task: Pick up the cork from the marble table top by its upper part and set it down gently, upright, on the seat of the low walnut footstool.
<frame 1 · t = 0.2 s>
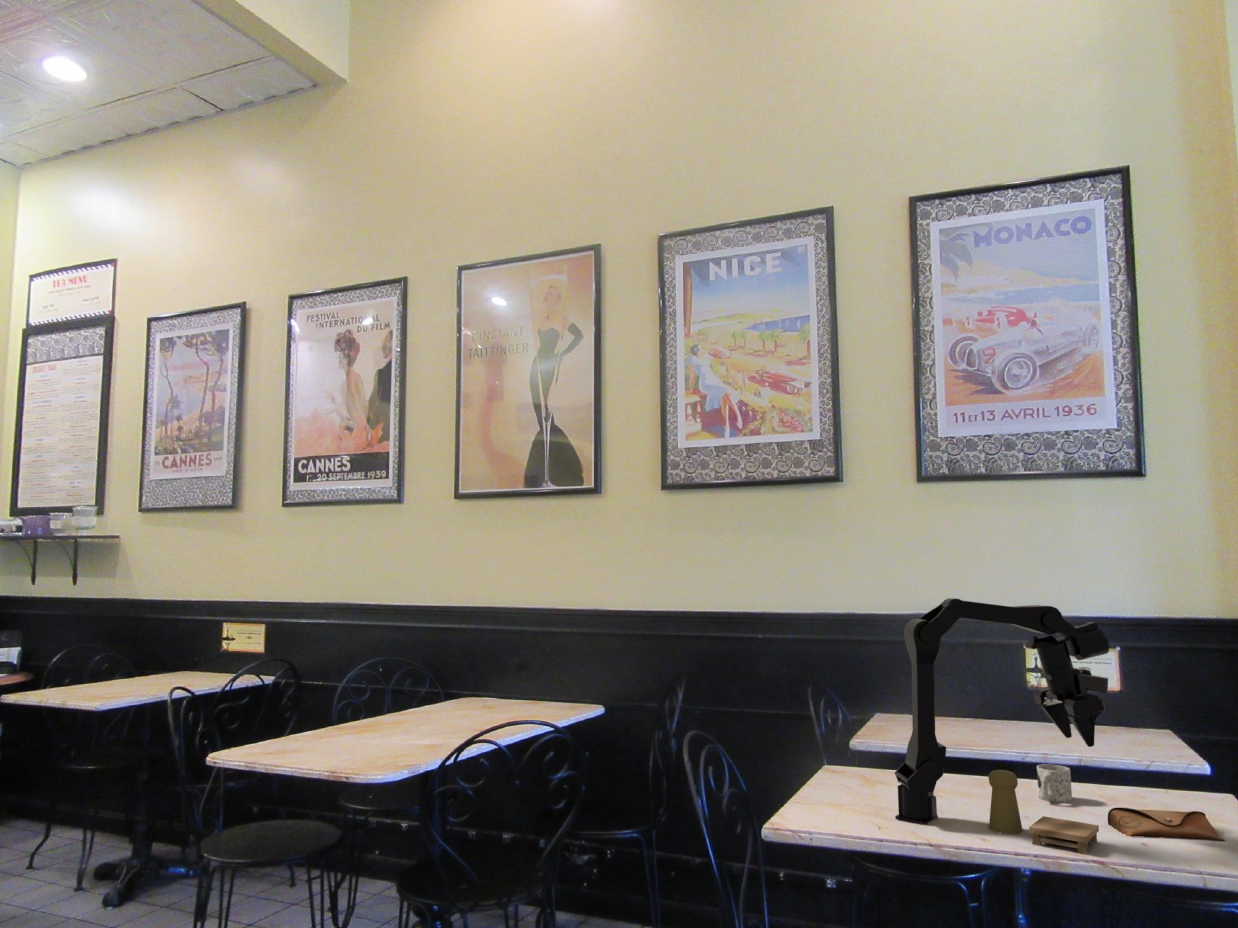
hand: (1079, 741, 177), 15 cm above the table, tool pointing down, fingers open, 9 cm apart
footstool: (1065, 842, 160), on the table
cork: (1005, 830, 168), on the table
mug: (1052, 800, 190), on the table
sunglasses case: (1166, 836, 166), on the table
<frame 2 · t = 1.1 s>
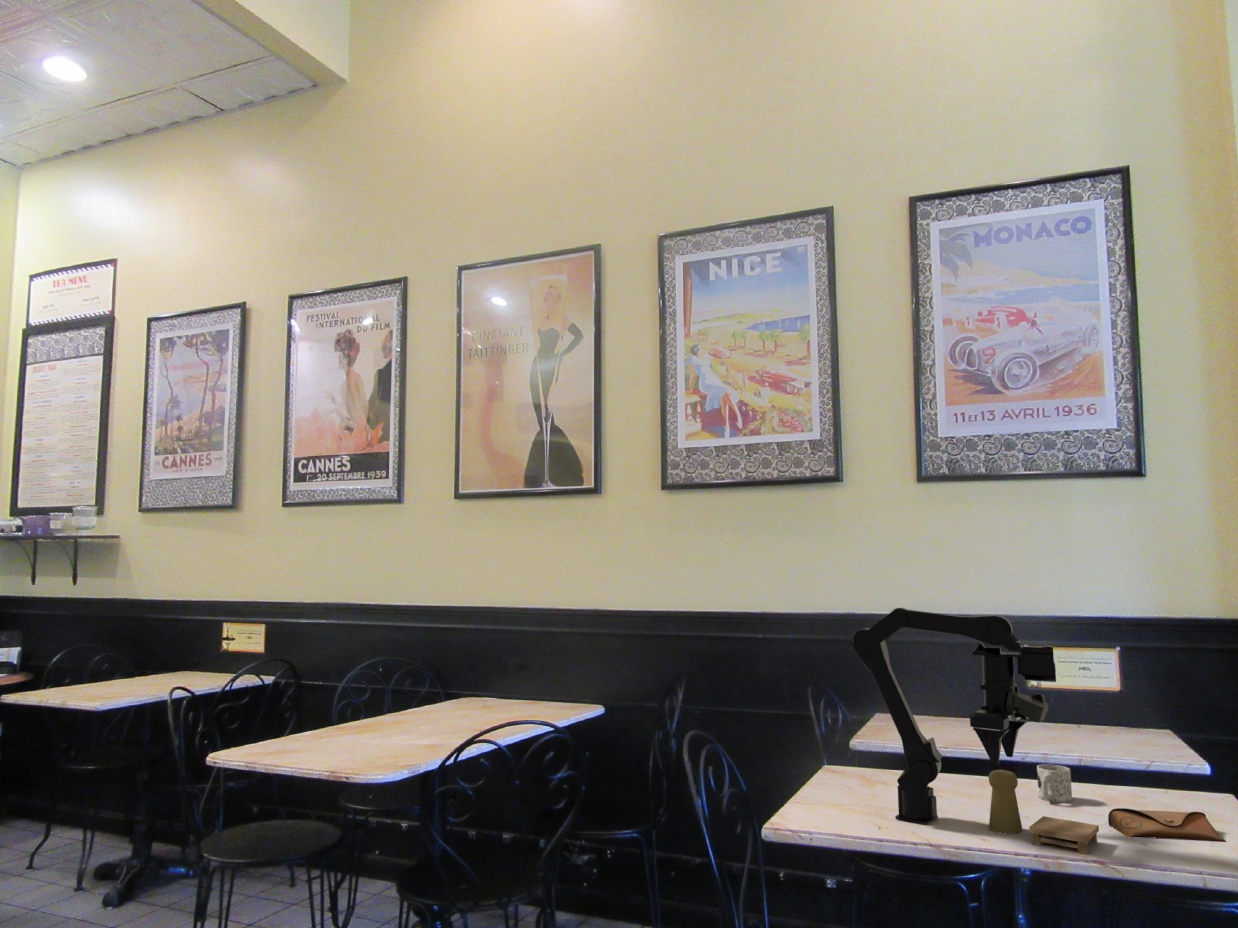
hand: (1002, 760, 170), 13 cm above the table, tool pointing down, fingers open, 9 cm apart
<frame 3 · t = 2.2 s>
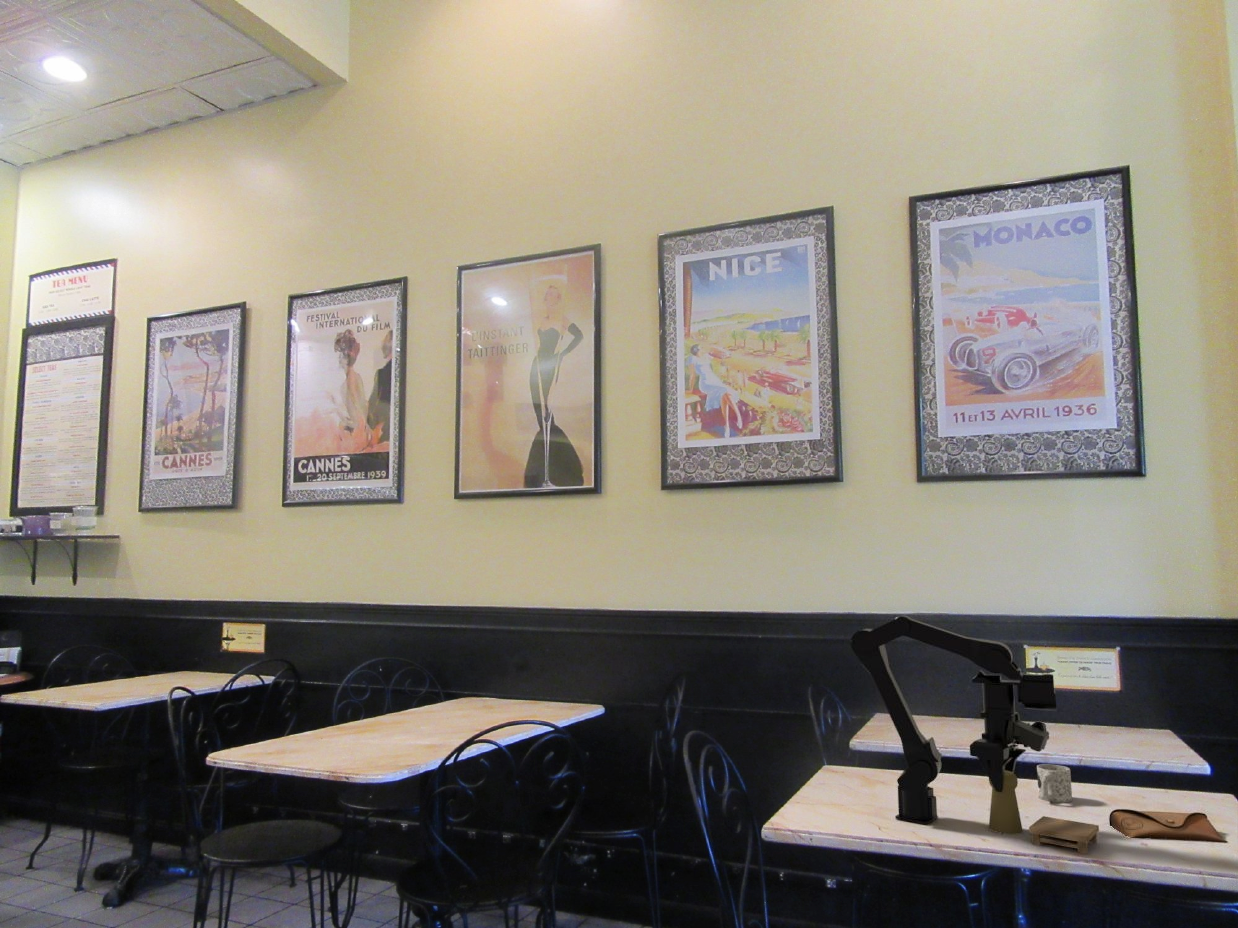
hand: (1003, 789, 169), 8 cm above the table, tool pointing down, fingers closed on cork, 5 cm apart
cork: (1005, 830, 168), on the table, touching gripper
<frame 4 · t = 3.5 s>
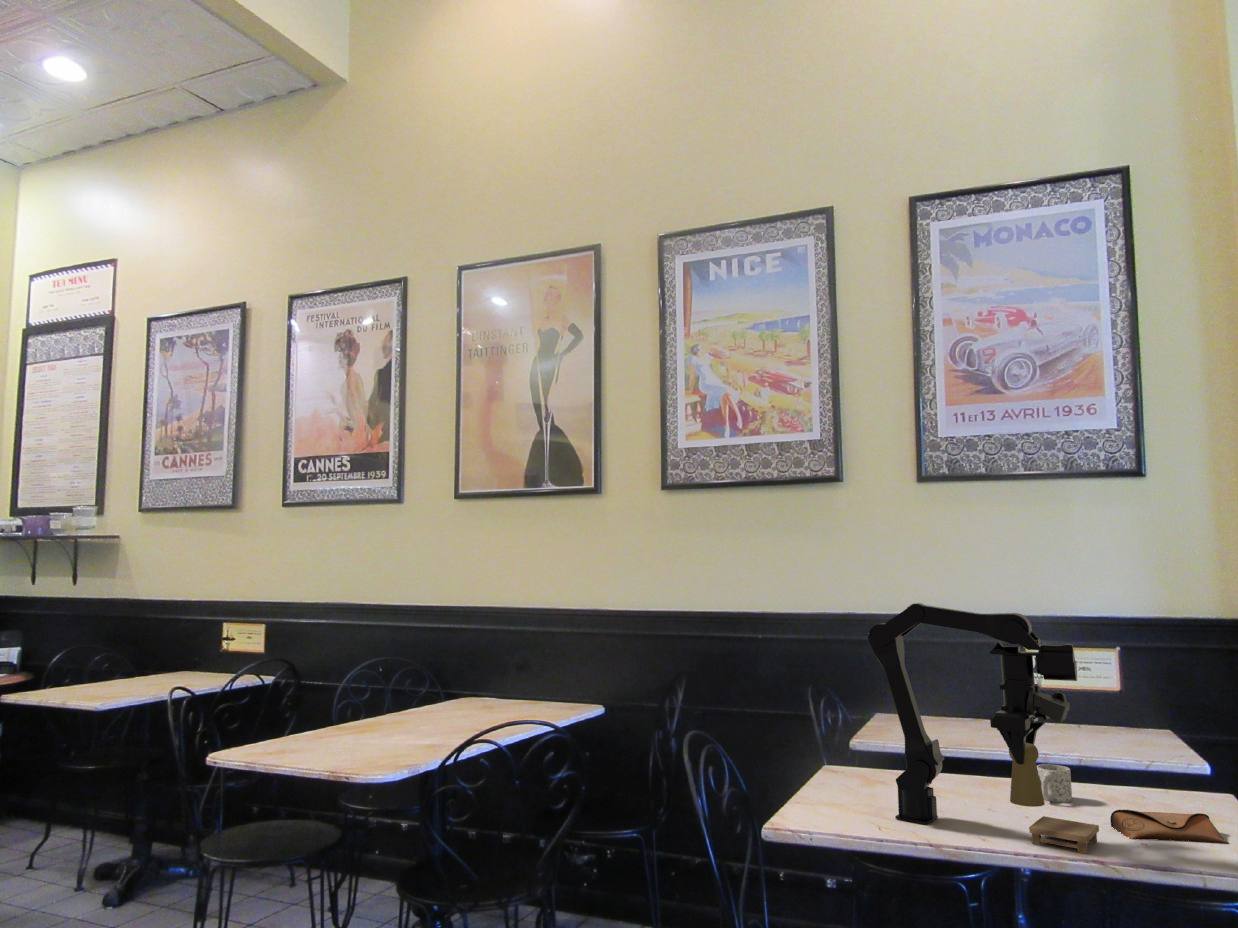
hand: (1024, 761, 167), 13 cm above the table, tool pointing down, fingers closed on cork, 5 cm apart
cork: (1027, 803, 166), point 6 cm above the table, touching gripper
when the fingers open (11 cm above the table, at t = 4.6 s): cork stays where it is, resting on footstool.
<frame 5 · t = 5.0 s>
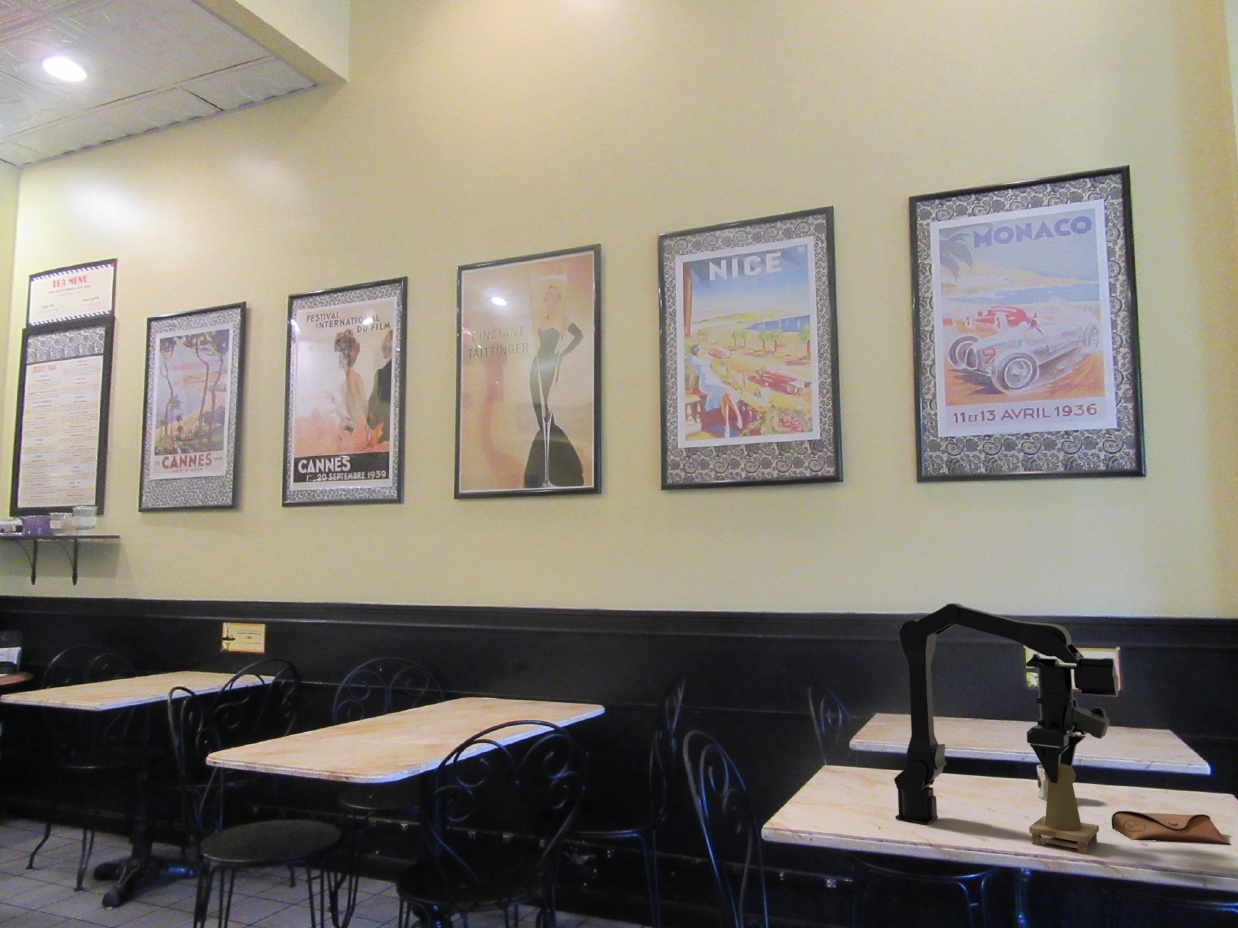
hand: (1060, 778, 161), 11 cm above the table, tool pointing down, fingers open, 9 cm apart
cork: (1063, 826, 160), point 3 cm above the table, touching footstool
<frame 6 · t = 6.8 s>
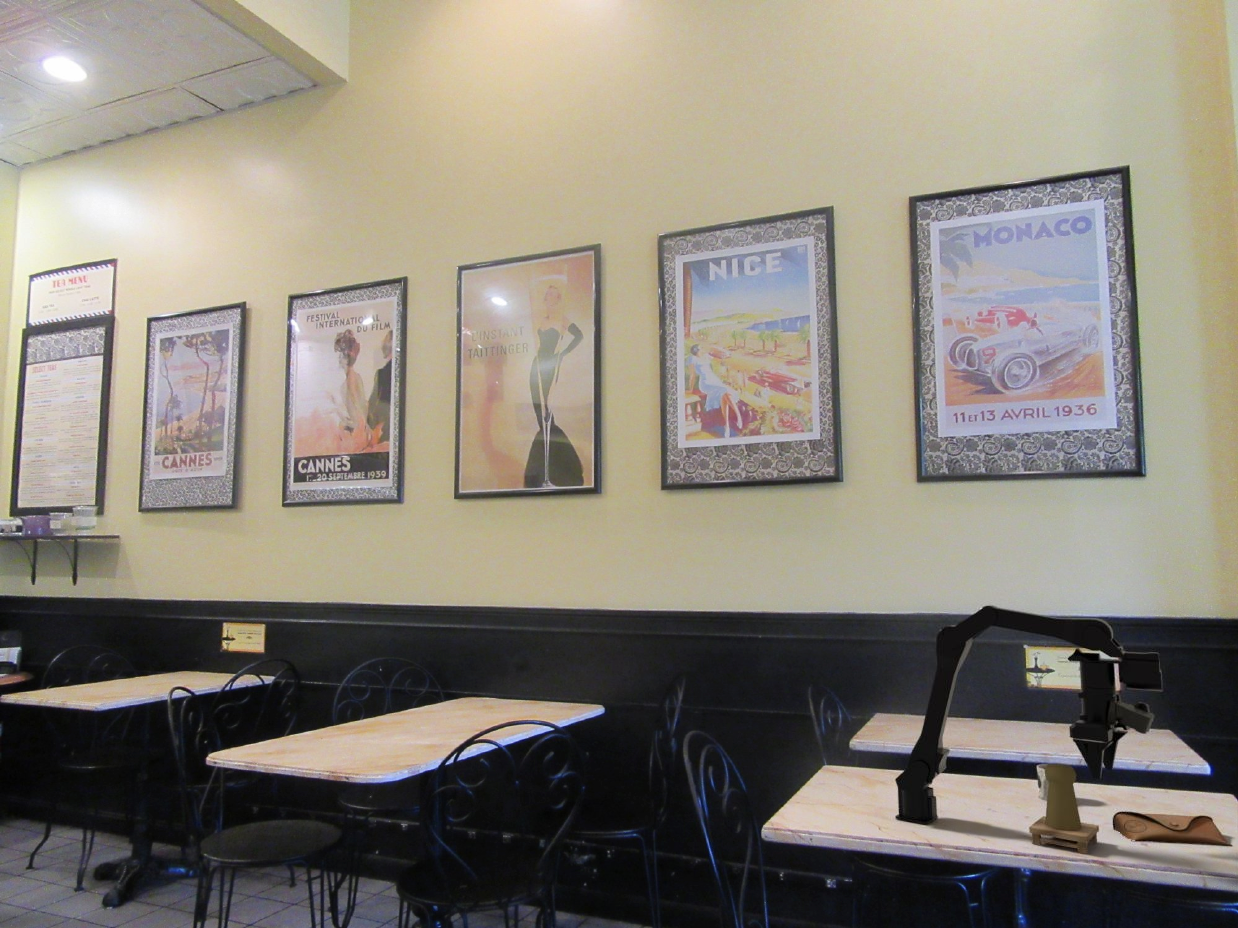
hand: (1103, 773, 159), 13 cm above the table, tool pointing down, fingers open, 9 cm apart
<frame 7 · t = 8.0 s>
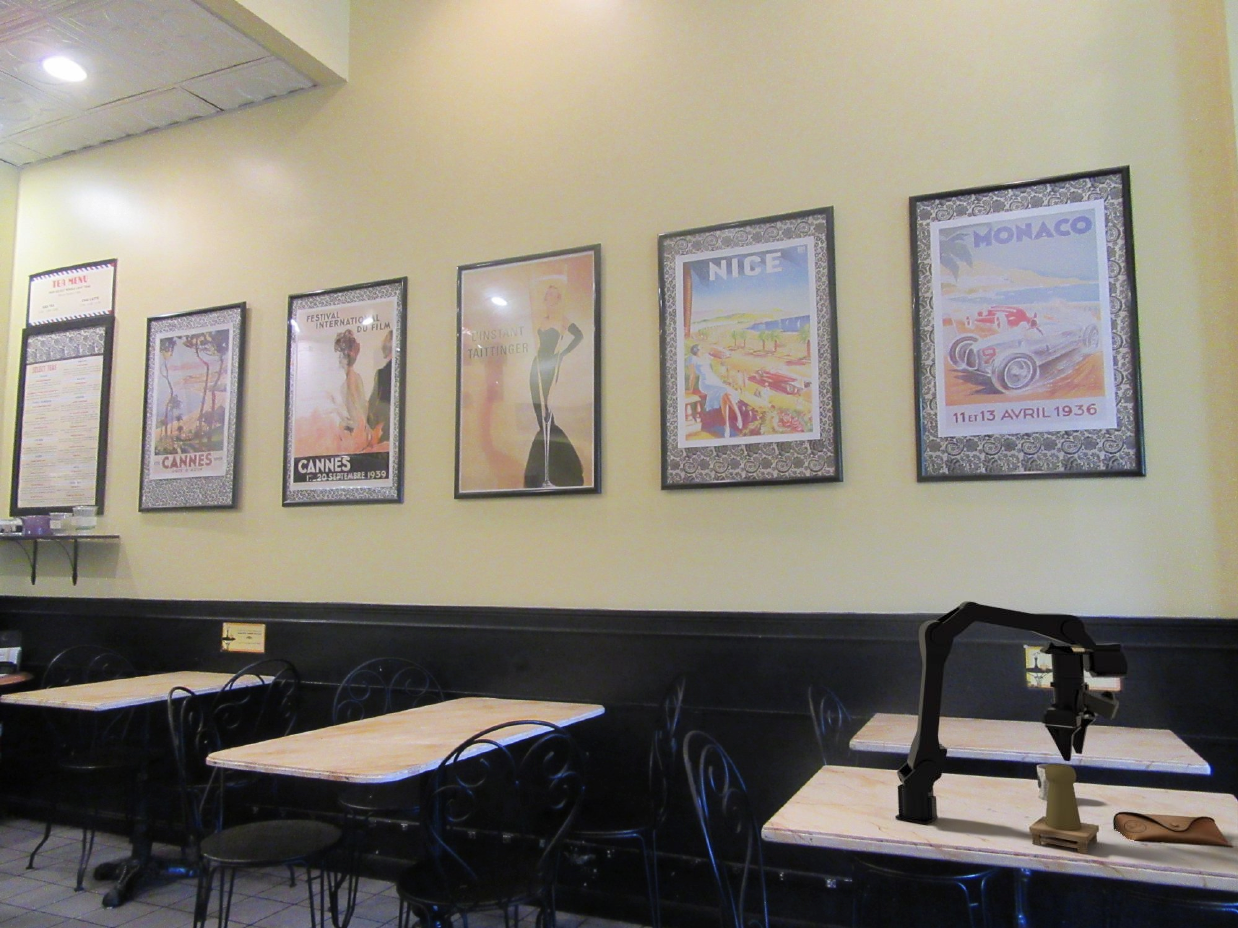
hand: (1073, 757, 172), 13 cm above the table, tool pointing down, fingers open, 9 cm apart
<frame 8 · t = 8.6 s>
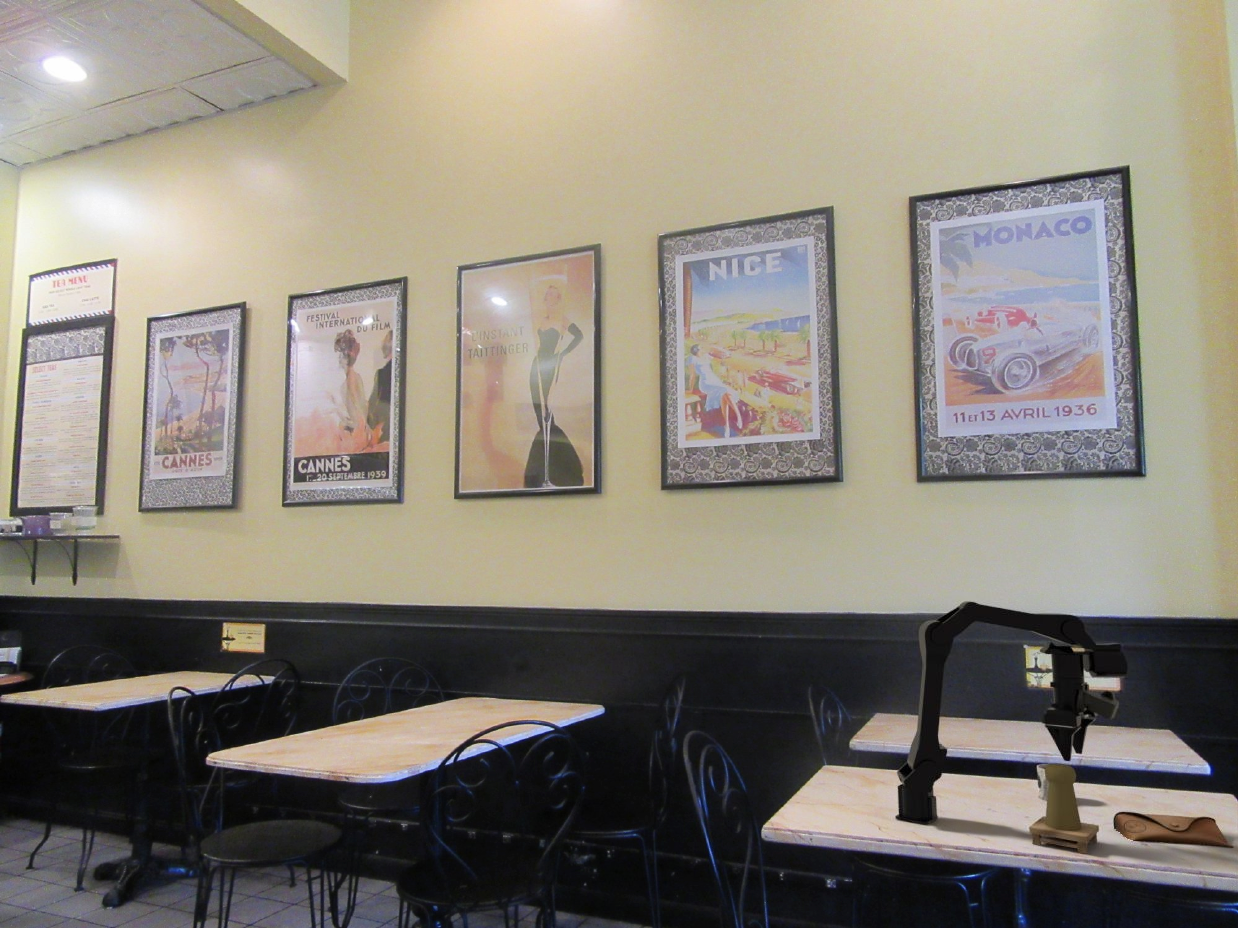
hand: (1073, 757, 172), 13 cm above the table, tool pointing down, fingers open, 9 cm apart
at the end: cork inside the target area on the footstool (0.1 cm from its centre), point 2.8 cm above the footstool's base; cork tilted 0°; the gripper is holding nothing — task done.
